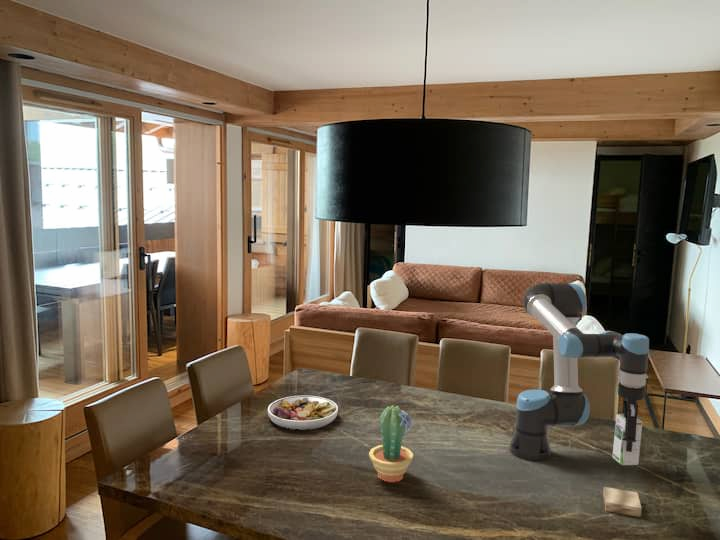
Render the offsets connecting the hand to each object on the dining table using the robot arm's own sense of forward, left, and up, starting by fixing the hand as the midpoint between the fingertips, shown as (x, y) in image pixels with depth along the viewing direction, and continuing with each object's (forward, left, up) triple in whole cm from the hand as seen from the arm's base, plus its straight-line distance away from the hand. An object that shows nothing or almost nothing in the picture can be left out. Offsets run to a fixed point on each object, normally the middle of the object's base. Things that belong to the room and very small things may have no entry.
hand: (625, 454), depth 180 cm
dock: (0, 0, -17) cm, 17 cm away
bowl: (-123, +29, -18) cm, 128 cm away
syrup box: (0, 0, -2) cm, 2 cm away
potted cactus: (-74, -7, -17) cm, 76 cm away
